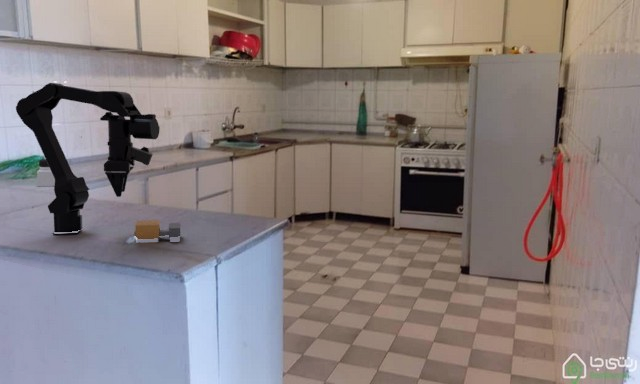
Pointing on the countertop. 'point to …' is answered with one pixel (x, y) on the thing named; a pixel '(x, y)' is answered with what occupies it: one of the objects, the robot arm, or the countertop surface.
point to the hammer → (170, 230)
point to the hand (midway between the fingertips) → (120, 194)
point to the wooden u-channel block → (147, 229)
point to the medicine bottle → (45, 175)
